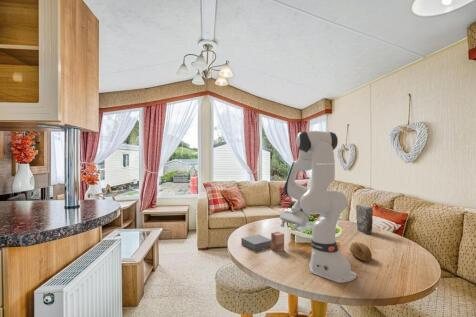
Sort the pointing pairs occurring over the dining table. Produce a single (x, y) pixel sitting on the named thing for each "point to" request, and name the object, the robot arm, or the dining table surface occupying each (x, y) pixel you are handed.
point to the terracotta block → (277, 241)
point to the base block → (256, 242)
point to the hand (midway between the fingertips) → (287, 228)
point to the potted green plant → (291, 206)
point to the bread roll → (361, 251)
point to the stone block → (364, 218)
